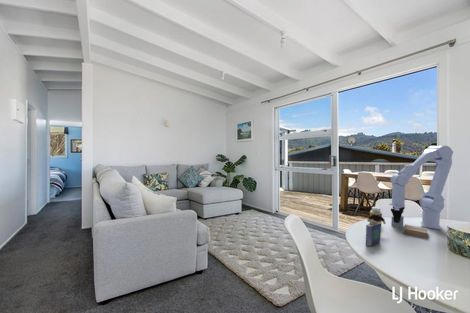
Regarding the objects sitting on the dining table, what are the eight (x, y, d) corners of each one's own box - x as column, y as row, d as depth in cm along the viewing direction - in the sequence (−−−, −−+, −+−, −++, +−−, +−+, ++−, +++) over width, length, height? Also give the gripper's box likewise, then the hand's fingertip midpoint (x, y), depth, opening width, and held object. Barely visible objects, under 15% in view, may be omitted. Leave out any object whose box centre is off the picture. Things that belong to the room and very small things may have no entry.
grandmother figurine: (367, 233, 113) (368, 208, 113) (366, 230, 117) (367, 206, 116) (386, 235, 110) (386, 209, 110) (384, 233, 114) (385, 207, 113)
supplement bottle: (378, 228, 120) (378, 209, 120) (367, 225, 125) (367, 207, 125) (383, 226, 123) (384, 208, 123) (372, 224, 128) (373, 205, 128)
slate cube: (392, 223, 130) (392, 214, 129) (403, 225, 126) (403, 216, 126) (391, 225, 126) (391, 216, 126) (402, 227, 123) (402, 218, 122)
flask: (370, 247, 97) (370, 222, 97) (363, 244, 100) (363, 220, 99) (381, 243, 102) (382, 219, 101) (374, 240, 104) (375, 217, 104)
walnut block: (404, 229, 120) (404, 224, 120) (427, 234, 115) (427, 228, 114) (403, 234, 113) (403, 228, 113) (427, 239, 108) (427, 233, 108)
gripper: (391, 193, 134) (390, 216, 134) (387, 197, 122) (387, 222, 123) (406, 195, 129) (405, 219, 130) (404, 199, 118) (403, 225, 118)
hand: (397, 220), depth 126 cm, fingers open, 7 cm apart
